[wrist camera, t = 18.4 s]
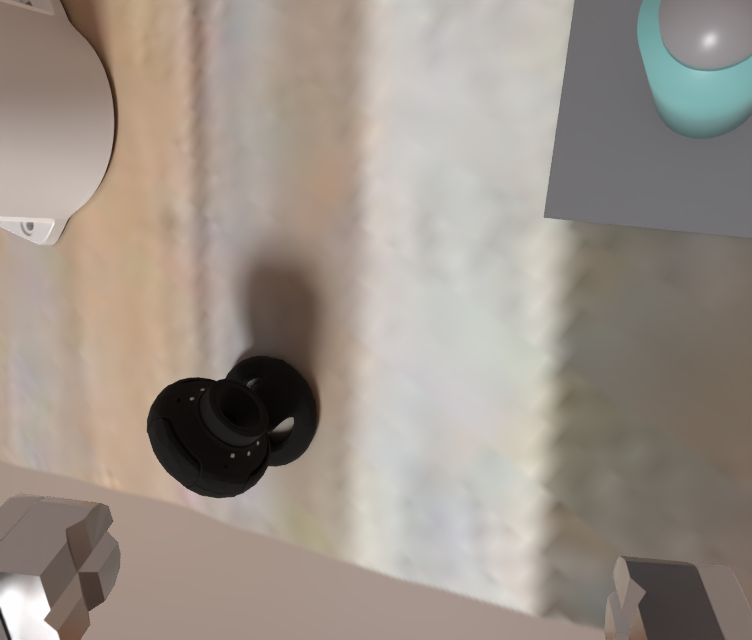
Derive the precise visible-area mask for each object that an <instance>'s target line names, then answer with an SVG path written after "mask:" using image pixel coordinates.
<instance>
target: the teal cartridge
mask: <svg viewBox="0 0 752 640" xmlns="http://www.w3.org/2000/svg"><path fill="white" fill-rule="evenodd" d="M637 37H638V43H639V48H640V51H641V55H642V59H643V63H644V66H645V70H646V74H647V78H648V81H649V85H650V89H651V92H652V96H653V100H654V104H655V107H656V110H657V113H658V115H659V117H660V118H661V120H662V121H663V122H664V124H665V125H666V126H667V127H669V128H670V129H671V130H672V131H674V132H676V133H678V134H680V135H682V136H685V137H689V138H696V139H706V138H713V137H717V136H721V135H723V134H726V133H728V132H730V131H732V130H734V129H736V128H737V127H739V126H740V125H741V124H743V123H744V122H745V121H746V120H747V119H748V118H749V117H750V116H751V115H752V0H643V2H642V4H641V7H640V11H639V16H638V24H637Z"/></svg>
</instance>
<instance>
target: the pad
mask: <svg viewBox="0 0 752 640" xmlns="http://www.w3.org/2000/svg"><path fill="white" fill-rule="evenodd" d="M642 2H643V0H575V2H574V9H573V16H572V23H571V30H570V37H569V44H568V51H567V58H566V65H565V72H564V79H563V86H562V93H561V100H560V107H559V114H558V121H557V128H556V135H555V142H554V149H553V156H552V163H551V170H550V177H549V184H548V191H547V198H546V205H545V212H544V218H553V219H564V220H574V221H584V222H594V223H604V224H614V225H624V226H634V227H644V228H655V229H665V230H675V231H685V232H695V233H705V234H715V235H725V236H735V237H746V238H752V115H751V116H750V117H749V118H748V119H747V120H746V121H745V122H744V123H743V124H741V125H740V126H739V127H737V128H736V129H734V130H732V131H730V132H728V133H726V134H723V135H721V136H717V137H713V138H706V139H696V138H689V137H685V136H682V135H680V134H678V133H676V132H674V131H672V130H671V129H670V128H669V127H667V126H666V125H665V124H664V122H663V121H662V120H661V118H660V117H659V115H658V113H657V110H656V107H655V104H654V100H653V96H652V92H651V89H650V85H649V81H648V78H647V74H646V70H645V66H644V63H643V59H642V55H641V51H640V48H639V43H638V37H637V24H638V16H639V11H640V7H641V4H642Z"/></svg>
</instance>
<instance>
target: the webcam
mask: <svg viewBox="0 0 752 640" xmlns="http://www.w3.org/2000/svg"><path fill="white" fill-rule="evenodd" d="M258 377H263V378H262V381H261V382H260V384H259V385H258V386H257V387H256V388H255V389H254V390H251V389H250V388H249V387H248V386H246V384H247V383H248V382H249V381H251V380H252V379H254V378H258ZM289 417H293V418H294V426H293V429H292V432H291V435H290V436H289V437H288V439H287V440H285V441H284V442H283V443H280V444H277V445H270V439H269V436H268V434H269V433H270V432H272V431H273V430H274V429H275V428H276V427H277V426H278V425H279V424H280V423H281V422H282V421H284V420H285V419H287V418H289ZM315 428H316V413H315V402H314V399H313V396H312V393H311V391H310V389H309V387H308V385H307V383H306V382H305V380H304V379H303V378H302V376H301V375H300V374H299V373H298V372H297V371H296V370H295V369H294V368H293V367H292V366H290V365H289V364H287V363H286V362H284V361H283V360H279V359H275V358H271V357H267V356H255V357H251V358H248V359H245V360H243V361H241V362H240V363H238V364H237V365H236V366H235V367H234V368H233V369H232V370H231V371H230V372H229V373H228V374H227V376H226V378H225V379H222V380H218V381H214V380H212V379H206V378H199V377H197V378H186V379H182V380H179V381H177V382H175V383H173V384H171V385H168V386H167V387H166V388H164V390H163V391H162V392H161V393H160V394H159V395H158V396H157V398H156V399H155V401H154V403H153V404H152V406H151V408H150V411H149V415H148V419H147V433H148V435H149V439H150V442H151V445H152V448H153V452H154V453H155V455H156V457H157V459H158V460H159V462H160V463H161V465H162V466H163V467H164V469H165V470H166V471H167V472H168V473H169V474H170V475H171V476H172V477H174V478H175V479H176V480H177V481H179V482H180V483H181V484H182V485H183V486H185V487H186V488H187V489H189V490H191V491H193V492H195V493H197V494H199V495H202V496H208V497H214V498H225V497H235V496H236V495H239V494H242V493H244V492H245V491H247V490H248V489H250V488H251V487H253V486H254V485H255V484H256V483H257V482H258V481H259V480H260V478H261V477H262V476H263V475H264V473H265V471H266V469H267V467H268V466H281V465H286V464H288V463H290V462H292V461H294V460H296V459H298V458H299V457H300V456H301V455H302V454H303V453H304V452H305V451H306V450H307V448H308V447H309V445H310V443H311V441H312V439H313V436H314V432H315Z"/></svg>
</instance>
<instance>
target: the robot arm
mask: <svg viewBox="0 0 752 640" xmlns="http://www.w3.org/2000/svg"><path fill="white" fill-rule="evenodd" d="M113 136H114V109H113V100H112V94H111V90H110V86H109V82H108V79H107V76H106V73H105V70H104V68H103V65H102V63H101V61H100V59H99V57H98V56H97V54H96V52H95V51H94V49H93V48H92V46H91V45H90V44H89V42H88V41H87V40H86V39H85V38H84V37H83V36H82V35H81V34H80V33H79V32H78V31H77V30H76V29H75V28H74V27H73V26H72V24H71V23H70V22H69V20H68V18H67V15H66V13H65V10H64V8H63V6H62V4H61V1H60V0H0V227H1V228H4V229H6V230H8V231H10V232H12V233H14V234H16V235H19V236H21V237H23V238H25V239H27V240H29V241H31V242H34V243H36V244H41V245H53V244H54V243H55V242H56V241H57V240H58V238H59V237H60V235H61V233H62V231H63V229H64V227H65V225H66V223H67V220H68V219H69V217H70V216H71V215H72V214H73V213H74V212H76V211H77V210H78V209H79V208H80V207H82V206H83V205H84V204H85V203H86V202H87V201H88V200H89V199H90V198H91V196H92V195H93V194H94V192H95V191H96V189H97V188H98V186H99V184H100V183H101V181H102V179H103V176H104V174H105V172H106V169H107V166H108V163H109V159H110V155H111V150H112V145H113ZM112 522H113V519H112V516H111V513H110V509H109V506H107V505H104V504H102V503H96V502H88V501H80V500H72V499H64V498H56V497H50V496H49V497H48V496H47V497H44V496H36V495H29V494H22V493H20V494H17V495H15V496H12V497H10V498H9V499H8V500H7V501H6V502H5V503H4V504H3V505H2V506H1V507H0V640H81V638H82V636H83V635H84V634H85V632H86V631H87V629H88V627H89V626H90V619H89V611H90V610H92V609H93V608H95V607H96V606H98V605H99V604H101V603H103V602H104V601H105V600H106V599H107V597H108V595H109V594H110V592H111V590H112V589H113V587H114V585H115V582H116V578H117V575H118V572H119V569H120V549H119V545H118V542H117V541H116V540H115V539H114V538H113V537H112V536H111V535H110V533H109V532H107V530H108V528H109V527H110V525H111V524H112ZM613 576H614V580H615V584H616V589H617V590H616V591H615V592H613V593H612V594H611V595H609V596H608V601H607V606H606V612H605V637H606V640H752V610H751V608H750V606H749V604H748V602H747V600H746V597H745V595H744V593H743V591H742V589H741V587H740V585H739V583H738V581H737V578H736V576H735V574H734V572H733V571H732V570H731V569H730V568H729V567H728V566H726V565H715V564H704V563H693V562H691V563H688V562H681V561H670V560H659V559H648V558H638V557H627V556H620V557H619V558H618V560H617V562H616V565H615V569H614V573H613Z"/></svg>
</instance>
